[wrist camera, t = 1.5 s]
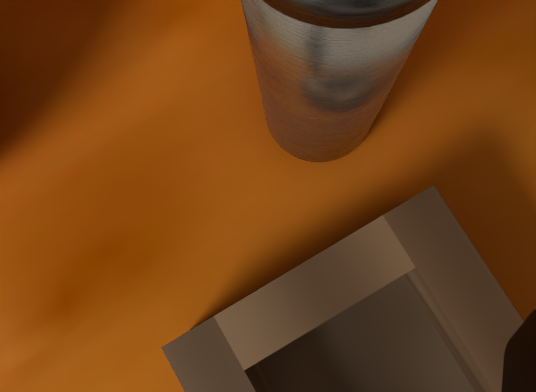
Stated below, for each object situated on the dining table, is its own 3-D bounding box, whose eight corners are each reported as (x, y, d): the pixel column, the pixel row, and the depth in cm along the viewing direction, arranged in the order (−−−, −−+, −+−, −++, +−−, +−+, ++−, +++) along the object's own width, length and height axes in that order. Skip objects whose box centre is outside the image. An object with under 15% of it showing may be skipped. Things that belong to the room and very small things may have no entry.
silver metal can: (300, 185, 20) (303, 47, 7) (242, 92, 21) (156, -184, 8) (397, 127, 20) (568, -109, 8) (337, 36, 21) (399, -322, 8)
